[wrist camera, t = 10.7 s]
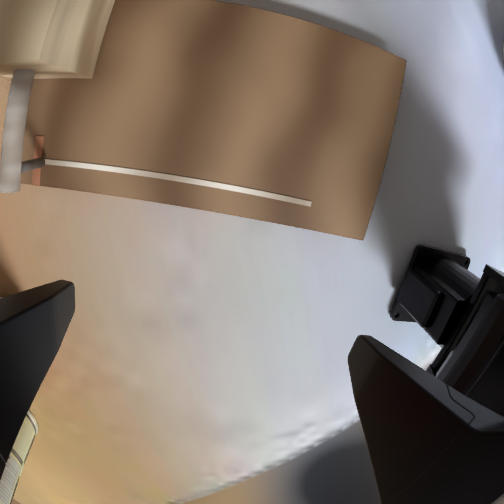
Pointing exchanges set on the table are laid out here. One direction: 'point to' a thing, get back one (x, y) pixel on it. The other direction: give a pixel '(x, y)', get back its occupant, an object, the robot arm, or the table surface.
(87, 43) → the beige block with rod
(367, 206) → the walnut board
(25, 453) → the coffee can
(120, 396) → the table surface
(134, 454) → the table surface
